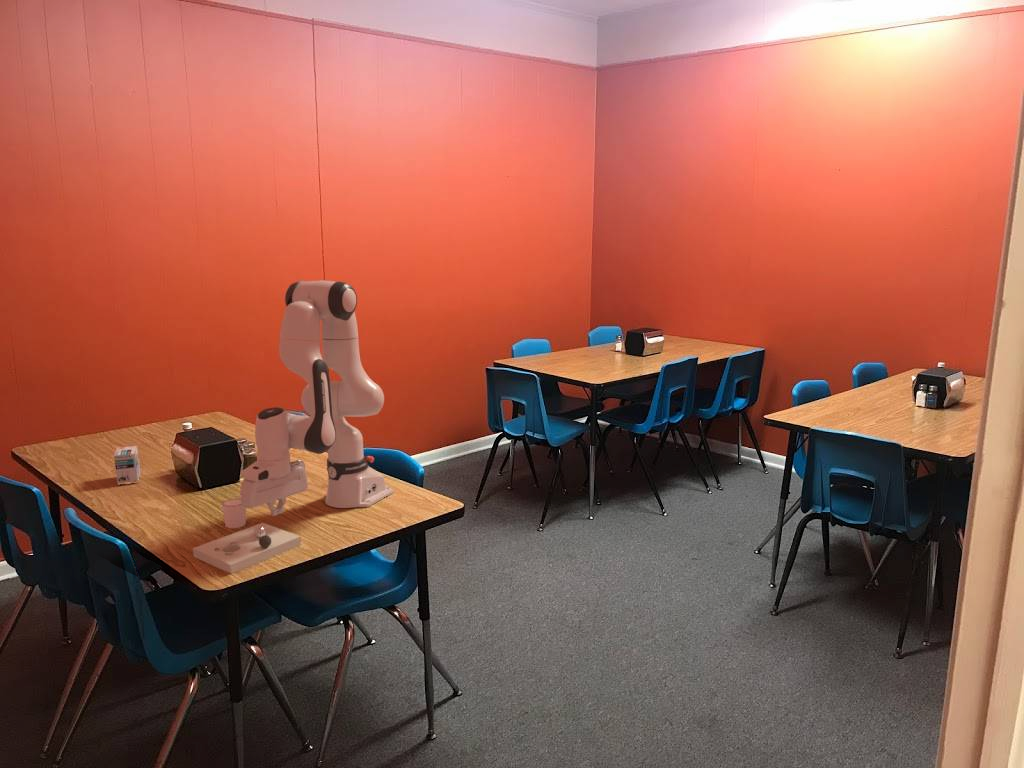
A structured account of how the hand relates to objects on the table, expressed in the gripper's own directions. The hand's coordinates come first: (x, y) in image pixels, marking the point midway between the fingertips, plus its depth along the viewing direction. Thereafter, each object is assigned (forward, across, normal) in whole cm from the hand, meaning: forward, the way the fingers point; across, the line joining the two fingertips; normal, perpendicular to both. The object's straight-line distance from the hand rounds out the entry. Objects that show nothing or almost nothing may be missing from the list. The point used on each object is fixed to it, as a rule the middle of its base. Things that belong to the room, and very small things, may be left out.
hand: (277, 514), depth 217 cm
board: (+8, +10, 0) cm, 12 cm away
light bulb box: (+7, -1, -84) cm, 84 cm away
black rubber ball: (+4, +9, +6) cm, 11 cm away
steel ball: (+4, +6, 0) cm, 7 cm away
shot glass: (+8, +1, -19) cm, 21 cm away
